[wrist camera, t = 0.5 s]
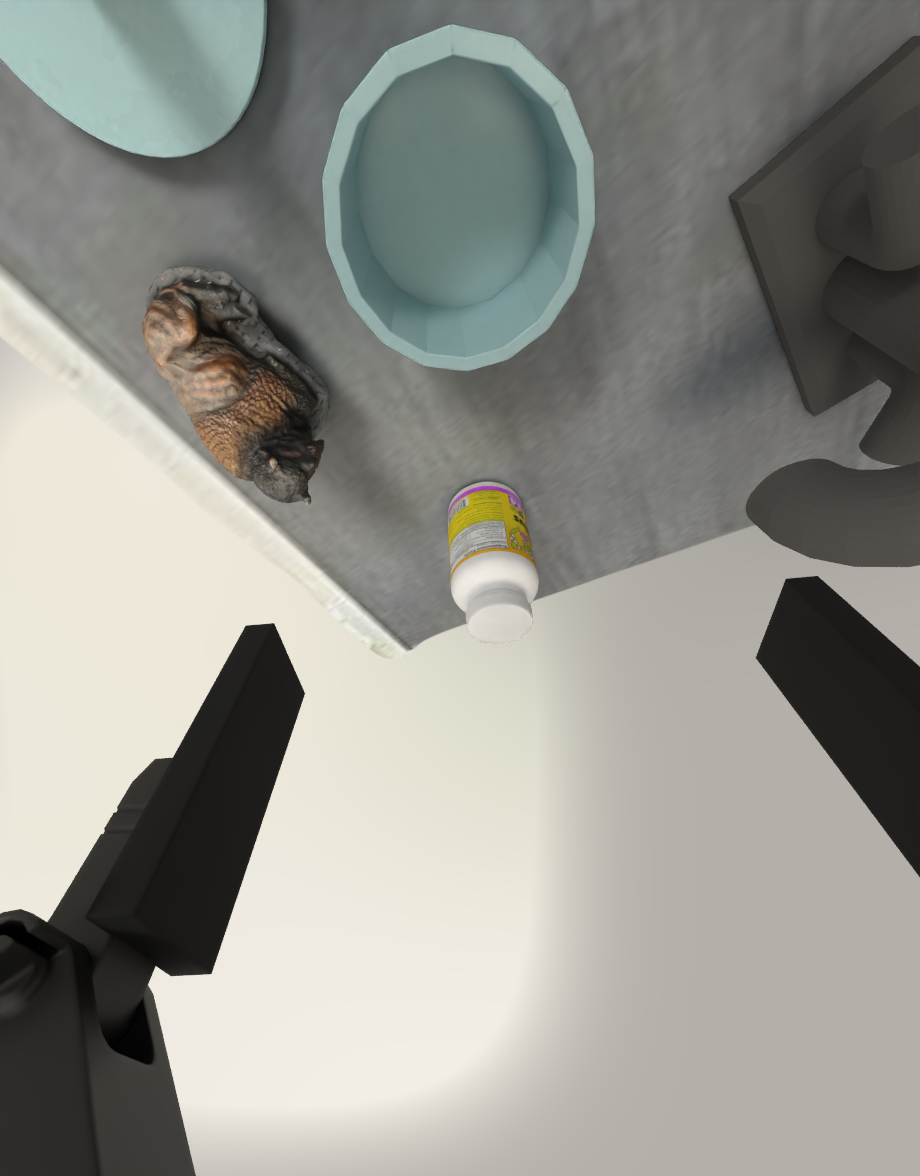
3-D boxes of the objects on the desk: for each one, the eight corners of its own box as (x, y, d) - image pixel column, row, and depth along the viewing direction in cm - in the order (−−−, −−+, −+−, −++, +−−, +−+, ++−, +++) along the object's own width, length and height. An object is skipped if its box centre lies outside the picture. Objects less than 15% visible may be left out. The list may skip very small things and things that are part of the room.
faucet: (602, 294, 29) (751, 499, 16) (912, 20, 21) (1721, -26, 8) (710, 470, 39) (852, 681, 26) (943, 331, 31) (1312, 533, 18)
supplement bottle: (523, 531, 43) (547, 646, 35) (453, 541, 44) (460, 657, 35) (520, 471, 38) (547, 589, 30) (441, 483, 39) (445, 603, 30)
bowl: (402, -48, 19) (393, -82, 14) (606, 147, 24) (654, 172, 19) (315, 246, 26) (289, 292, 21) (484, 350, 31) (495, 407, 26)
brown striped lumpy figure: (138, 307, 28) (49, 386, 21) (205, 219, 25) (126, 279, 18) (299, 446, 35) (270, 536, 29) (365, 391, 32) (350, 478, 26)
